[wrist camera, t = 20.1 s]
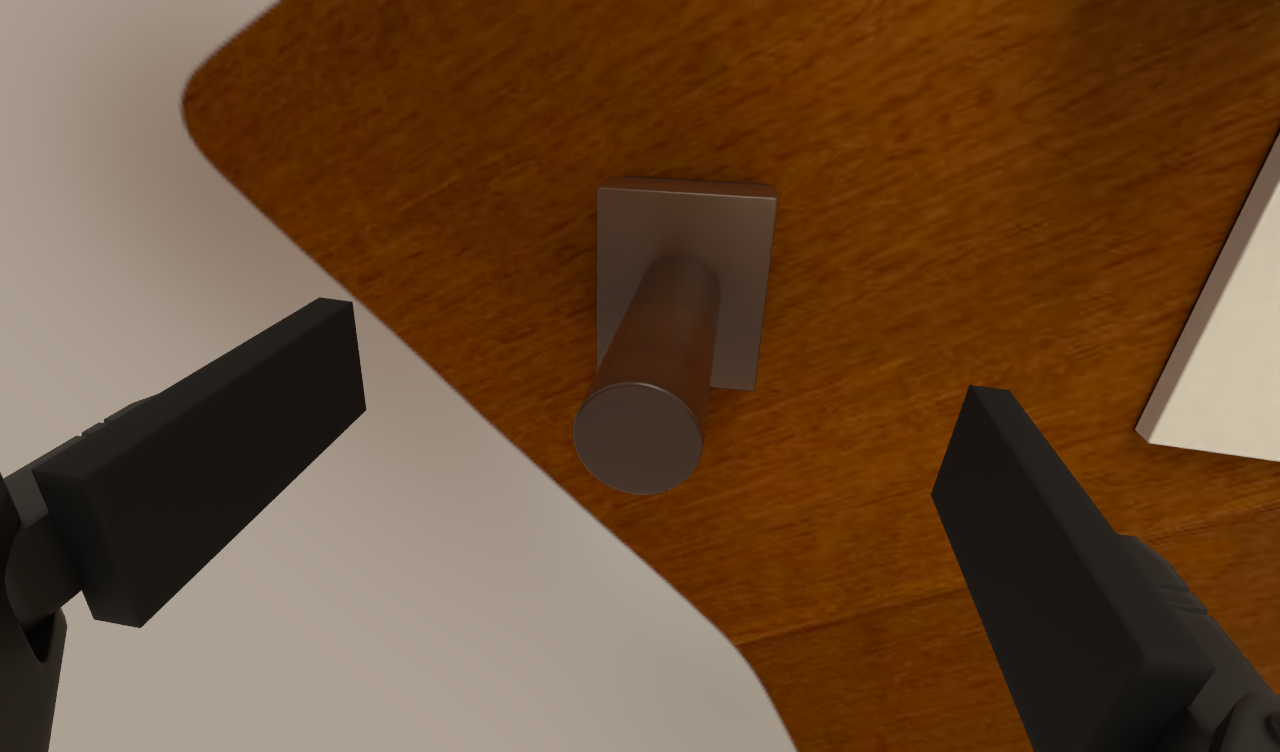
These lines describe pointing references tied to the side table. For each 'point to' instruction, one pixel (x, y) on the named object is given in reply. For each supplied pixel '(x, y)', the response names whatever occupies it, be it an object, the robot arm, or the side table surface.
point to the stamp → (671, 321)
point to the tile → (1230, 344)
